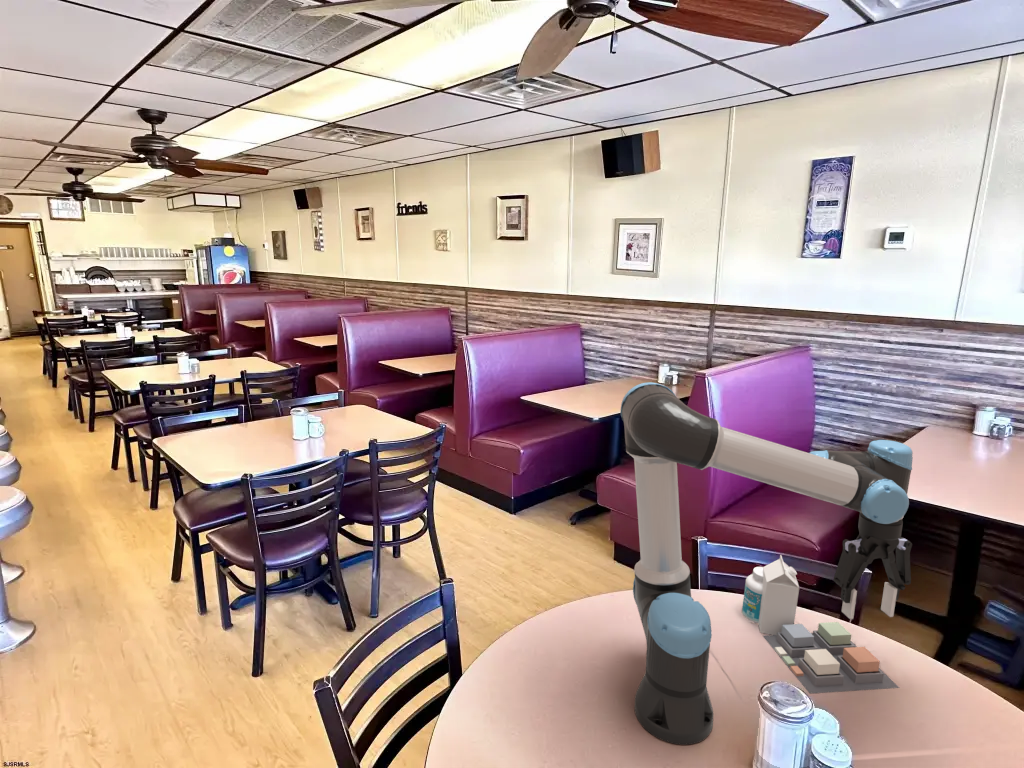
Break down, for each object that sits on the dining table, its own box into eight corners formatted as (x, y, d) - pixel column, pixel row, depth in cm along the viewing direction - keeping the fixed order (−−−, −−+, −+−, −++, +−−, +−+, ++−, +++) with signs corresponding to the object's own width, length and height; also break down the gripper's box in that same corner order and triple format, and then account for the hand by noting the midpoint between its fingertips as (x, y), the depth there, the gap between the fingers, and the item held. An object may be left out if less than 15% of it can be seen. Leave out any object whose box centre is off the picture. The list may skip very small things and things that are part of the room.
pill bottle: (736, 610, 148) (741, 563, 145) (763, 609, 148) (769, 562, 145) (749, 628, 141) (756, 580, 138) (778, 627, 141) (785, 579, 138)
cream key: (817, 675, 120) (818, 665, 120) (803, 659, 125) (805, 650, 124) (838, 673, 120) (839, 663, 120) (824, 658, 125) (825, 648, 125)
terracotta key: (857, 672, 121) (858, 662, 120) (842, 657, 125) (843, 647, 125) (878, 671, 121) (879, 661, 121) (862, 656, 126) (864, 646, 125)
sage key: (830, 645, 130) (831, 635, 129) (817, 631, 134) (818, 622, 134) (850, 643, 130) (851, 634, 130) (836, 630, 135) (837, 621, 134)
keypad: (809, 697, 118) (810, 685, 117) (762, 639, 136) (763, 628, 136) (899, 691, 120) (900, 679, 119) (840, 634, 138) (841, 623, 138)
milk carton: (759, 637, 138) (768, 567, 133) (756, 619, 144) (765, 552, 140) (791, 643, 136) (801, 572, 131) (786, 625, 142) (796, 557, 138)
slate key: (793, 647, 129) (794, 637, 128) (781, 633, 134) (782, 624, 133) (813, 646, 129) (814, 636, 129) (800, 632, 134) (801, 623, 133)
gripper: (845, 525, 112) (831, 627, 116) (944, 521, 114) (927, 622, 118) (821, 509, 119) (809, 606, 124) (915, 506, 121) (900, 601, 126)
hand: (867, 614), depth 121 cm, fingers open, 8 cm apart
